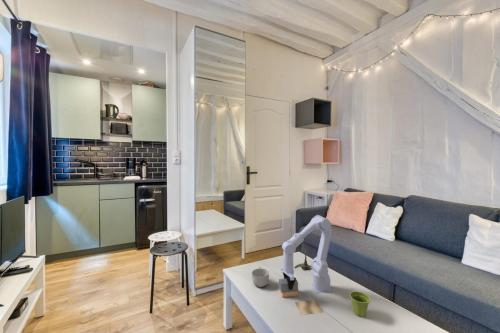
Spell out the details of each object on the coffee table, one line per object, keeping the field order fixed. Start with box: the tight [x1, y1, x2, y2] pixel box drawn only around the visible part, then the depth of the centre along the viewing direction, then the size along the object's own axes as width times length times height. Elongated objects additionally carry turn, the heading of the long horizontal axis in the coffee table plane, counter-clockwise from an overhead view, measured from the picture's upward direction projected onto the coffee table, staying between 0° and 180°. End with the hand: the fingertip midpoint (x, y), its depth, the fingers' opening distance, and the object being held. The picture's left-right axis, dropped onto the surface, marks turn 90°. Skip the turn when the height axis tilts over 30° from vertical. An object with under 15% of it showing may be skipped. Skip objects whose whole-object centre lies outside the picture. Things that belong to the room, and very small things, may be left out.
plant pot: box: [349, 290, 371, 318], centre depth 116 cm, size 9×9×9 cm
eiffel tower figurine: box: [293, 251, 312, 271], centre depth 161 cm, size 15×10×13 cm
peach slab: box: [279, 290, 299, 299], centre depth 132 cm, size 9×6×3 cm, turn 98°
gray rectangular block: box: [278, 278, 299, 292], centre depth 132 cm, size 10×5×5 cm, turn 98°
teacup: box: [251, 266, 270, 288], centre depth 144 cm, size 14×11×8 cm
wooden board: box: [294, 299, 324, 316], centre depth 120 cm, size 12×10×1 cm
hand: (288, 285), depth 132 cm, fingers open, 7 cm apart
